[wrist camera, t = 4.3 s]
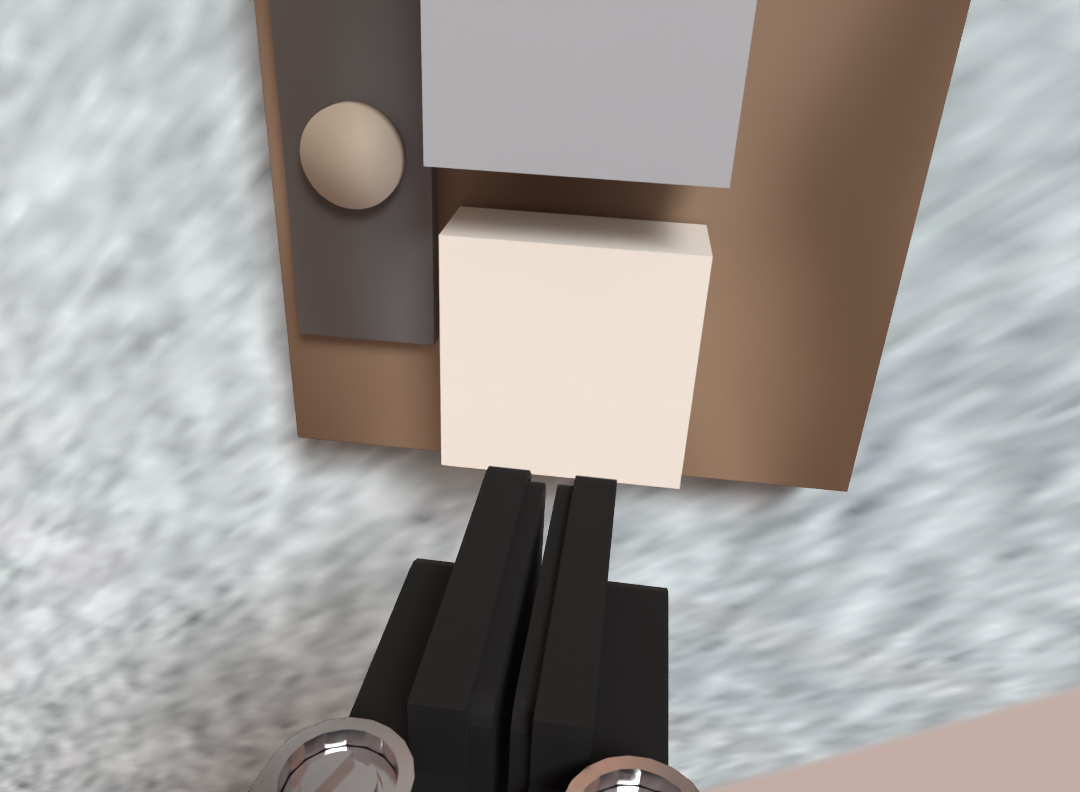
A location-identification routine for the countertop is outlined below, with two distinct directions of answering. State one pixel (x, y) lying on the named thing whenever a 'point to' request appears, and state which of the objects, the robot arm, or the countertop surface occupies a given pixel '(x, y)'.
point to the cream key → (570, 343)
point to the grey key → (586, 87)
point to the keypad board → (730, 215)
